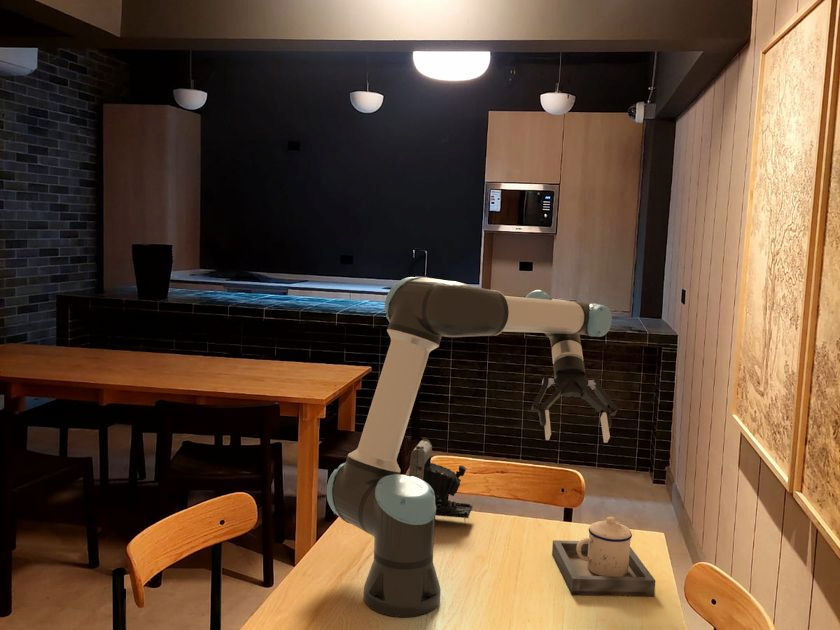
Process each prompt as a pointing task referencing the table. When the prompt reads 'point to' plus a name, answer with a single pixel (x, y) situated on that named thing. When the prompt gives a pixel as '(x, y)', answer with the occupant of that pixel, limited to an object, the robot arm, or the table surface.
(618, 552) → the teacup with lid
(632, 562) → the tray
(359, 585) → the table surface
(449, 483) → the vintage camera
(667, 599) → the table surface
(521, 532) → the table surface
